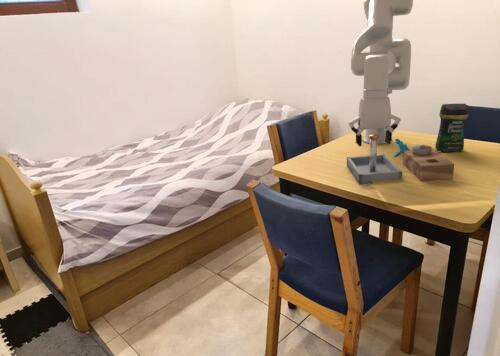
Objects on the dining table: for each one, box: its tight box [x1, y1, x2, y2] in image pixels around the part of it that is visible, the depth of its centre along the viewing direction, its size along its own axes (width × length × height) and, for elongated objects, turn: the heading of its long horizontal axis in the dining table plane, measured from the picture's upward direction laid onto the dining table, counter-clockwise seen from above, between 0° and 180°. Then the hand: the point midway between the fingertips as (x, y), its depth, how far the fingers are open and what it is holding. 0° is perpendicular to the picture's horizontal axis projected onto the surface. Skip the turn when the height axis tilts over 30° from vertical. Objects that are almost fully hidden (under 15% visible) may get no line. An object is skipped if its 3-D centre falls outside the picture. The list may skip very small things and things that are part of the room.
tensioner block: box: [402, 144, 455, 182], centre depth 124 cm, size 16×10×9 cm, turn 179°
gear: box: [393, 138, 411, 158], centre depth 141 cm, size 11×6×10 cm
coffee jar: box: [434, 103, 469, 154], centre depth 140 cm, size 10×8×19 cm
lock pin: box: [368, 134, 378, 172], centre depth 127 cm, size 3×3×13 cm
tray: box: [346, 153, 403, 185], centre depth 129 cm, size 18×14×4 cm
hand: (373, 144), depth 126 cm, fingers open, 9 cm apart
